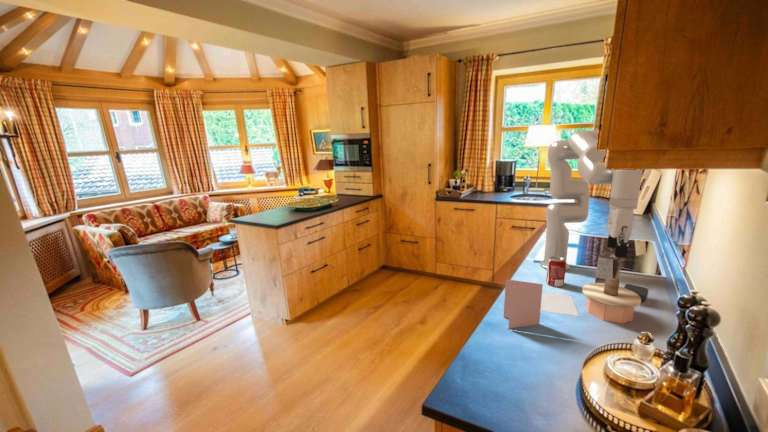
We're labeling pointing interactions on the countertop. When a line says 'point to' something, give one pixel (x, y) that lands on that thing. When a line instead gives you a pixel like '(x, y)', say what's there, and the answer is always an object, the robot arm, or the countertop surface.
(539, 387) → the countertop surface
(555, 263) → the soda can
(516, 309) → the greeting card
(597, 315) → the bowl
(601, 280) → the coffee box
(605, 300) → the lid
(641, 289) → the phone
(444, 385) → the countertop surface
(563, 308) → the mat
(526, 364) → the countertop surface
